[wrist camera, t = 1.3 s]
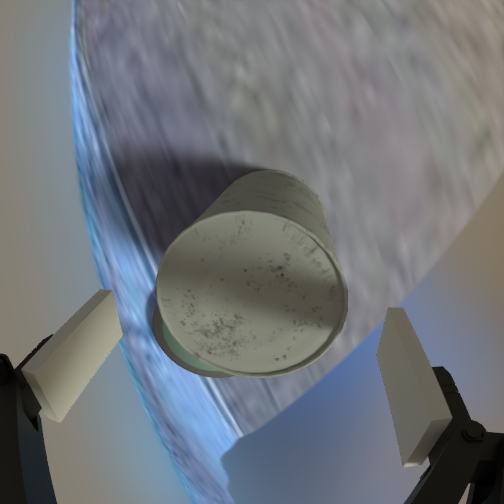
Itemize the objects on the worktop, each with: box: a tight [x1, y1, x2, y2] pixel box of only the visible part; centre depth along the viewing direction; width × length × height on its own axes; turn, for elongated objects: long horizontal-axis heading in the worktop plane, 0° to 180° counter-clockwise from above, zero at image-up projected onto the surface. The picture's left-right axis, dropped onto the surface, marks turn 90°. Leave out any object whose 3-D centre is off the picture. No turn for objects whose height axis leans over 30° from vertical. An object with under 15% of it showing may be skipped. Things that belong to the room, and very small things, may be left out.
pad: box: [153, 305, 235, 378], centre depth 31 cm, size 11×11×2 cm
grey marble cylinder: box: [156, 170, 348, 378], centre depth 21 cm, size 10×10×12 cm
